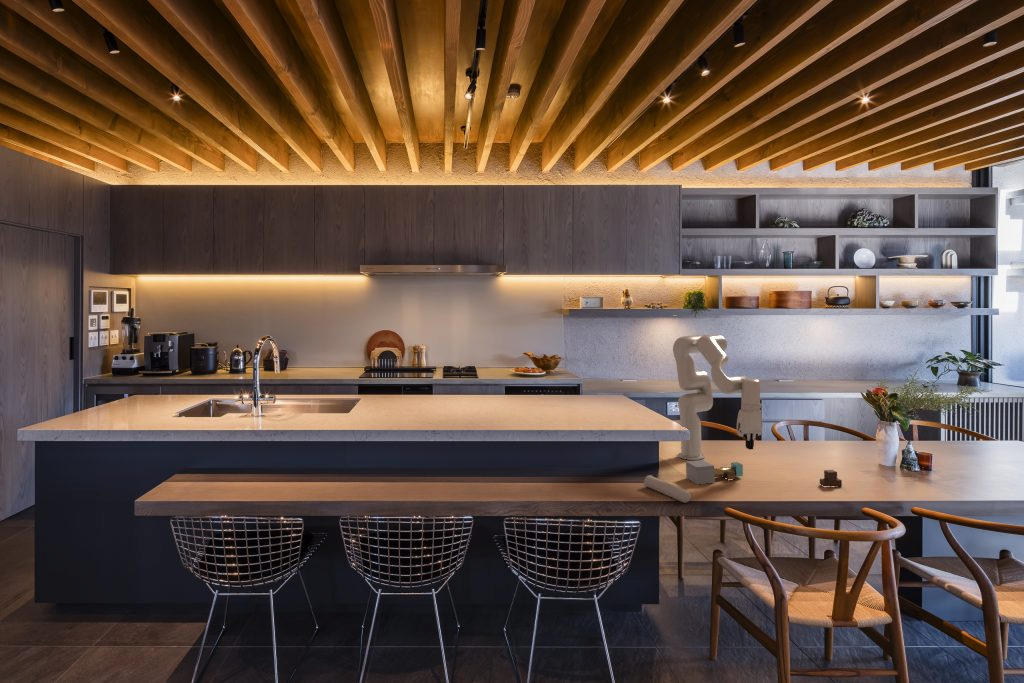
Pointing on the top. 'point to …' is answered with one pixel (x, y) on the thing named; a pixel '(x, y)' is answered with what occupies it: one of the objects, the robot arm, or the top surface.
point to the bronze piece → (734, 467)
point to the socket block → (700, 472)
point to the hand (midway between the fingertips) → (749, 448)
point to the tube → (667, 489)
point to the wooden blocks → (830, 479)
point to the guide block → (729, 474)
